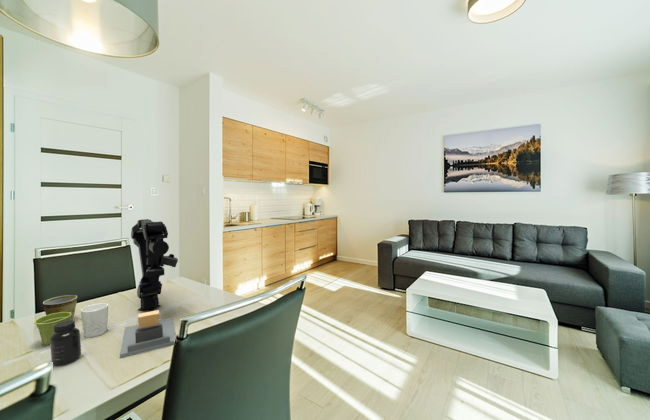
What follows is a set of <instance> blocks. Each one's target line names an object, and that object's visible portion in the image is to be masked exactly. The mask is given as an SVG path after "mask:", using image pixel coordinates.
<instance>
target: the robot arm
mask: <svg viewBox="0 0 650 420" xmlns="http://www.w3.org/2000/svg"><path fill="white" fill-rule="evenodd" d="M130 231H131V232H130V238H131V240H132V241H133V244H134V245H135V247H137V248H138V255H139V261H140V268H141V275H142V276H141V278H140V281H139V282H138V283H139V284H138V286H137V290H136V295H137V297H138V299H140V307H139V308H138V309H137V311H142V312H151V311H155V309H157V308H159V307H161V304H159V300H160V299H159V296H158V295H161V293H162V288H163V284H162V282H161V281H160V277H162V276H165V268H164V267H165V266H169V267H172V268H176V266H177V264H178V261H179V260H178V258H177V257H175V254H174V253H170V254H168V255H166V254H167V253H168V251H169V249H170V246H169V243H167V242H166V241H165V240H164V239H168V235H169V233H168V229H167V226H166V225H165V223H164V222H163V221H153V220H151V219H149V218H148V219H147V218H145V219H138V220H137V222H136V224H135V225H133V226H132V227H131V230H130Z"/></svg>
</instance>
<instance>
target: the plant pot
mask: <svg viewBox="0 0 650 420" xmlns="http://www.w3.org/2000/svg"><path fill="white" fill-rule="evenodd" d="M70 316H71V313H70V312H59V313H53V314H49V315H46V314H45V315H43V316H41V317H38V318H37V319H35V320H34V322H33V323H34V325H36V328H38V333H39V335H40V339H41V344H42V345H44V346H48V345H50V338H51V336H52V335H53V334H54V325H56V324H57V323H60V322H63V321H68V320H69V319H70Z"/></svg>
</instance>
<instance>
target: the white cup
mask: <svg viewBox="0 0 650 420" xmlns="http://www.w3.org/2000/svg"><path fill="white" fill-rule="evenodd" d="M80 315H81V323H82V324H81V325H82V331H83V336H84V338H95V337H98V336H102V335H104V334H105V333H106V332H107V331H108V323H109V321H108V320H109V304H108V303H106V302H105V303H104V302H102V303H101V302H100V303H92V304H89V305H86V306H84V307H82V308H81V309H80Z"/></svg>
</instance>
